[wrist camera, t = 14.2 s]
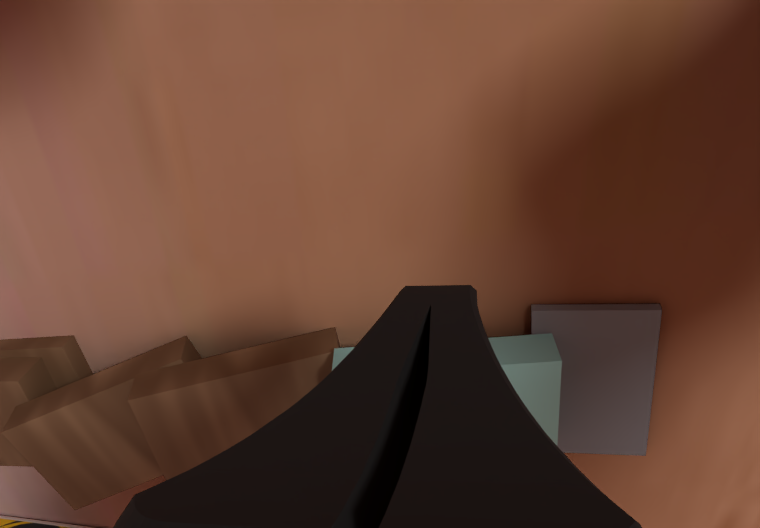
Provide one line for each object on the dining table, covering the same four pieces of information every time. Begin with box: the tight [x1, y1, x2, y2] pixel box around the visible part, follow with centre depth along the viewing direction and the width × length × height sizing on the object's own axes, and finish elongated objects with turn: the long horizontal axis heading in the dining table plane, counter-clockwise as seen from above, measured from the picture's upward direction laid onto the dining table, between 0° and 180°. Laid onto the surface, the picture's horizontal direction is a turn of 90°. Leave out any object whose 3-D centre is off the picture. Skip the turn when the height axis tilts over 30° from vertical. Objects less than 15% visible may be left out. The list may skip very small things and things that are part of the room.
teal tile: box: [332, 333, 562, 445], centre depth 25 cm, size 2×5×8 cm
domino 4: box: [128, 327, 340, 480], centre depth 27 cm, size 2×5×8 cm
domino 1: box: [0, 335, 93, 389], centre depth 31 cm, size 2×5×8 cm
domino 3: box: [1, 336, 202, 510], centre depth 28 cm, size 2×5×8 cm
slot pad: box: [531, 304, 662, 456], centre depth 25 cm, size 4×7×1 cm, turn 6°
